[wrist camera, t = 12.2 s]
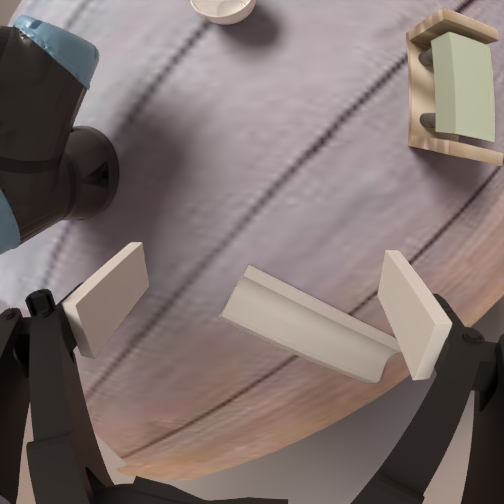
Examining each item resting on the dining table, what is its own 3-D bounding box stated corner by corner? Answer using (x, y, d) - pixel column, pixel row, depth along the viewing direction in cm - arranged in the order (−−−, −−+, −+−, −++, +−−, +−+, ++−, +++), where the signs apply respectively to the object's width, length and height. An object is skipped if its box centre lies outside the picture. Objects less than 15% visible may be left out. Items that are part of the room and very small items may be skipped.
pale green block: (430, 40, 25) (449, 31, 20) (468, 52, 24) (489, 45, 19) (435, 131, 29) (455, 133, 25) (472, 138, 29) (494, 142, 24)
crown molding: (402, 339, 49) (407, 352, 46) (362, 380, 54) (364, 393, 50) (249, 262, 46) (246, 273, 43) (217, 317, 51) (212, 330, 47)
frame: (405, 33, 29) (442, 7, 18) (452, 46, 28) (497, 29, 18) (408, 145, 36) (449, 154, 25) (454, 153, 35) (501, 166, 24)
